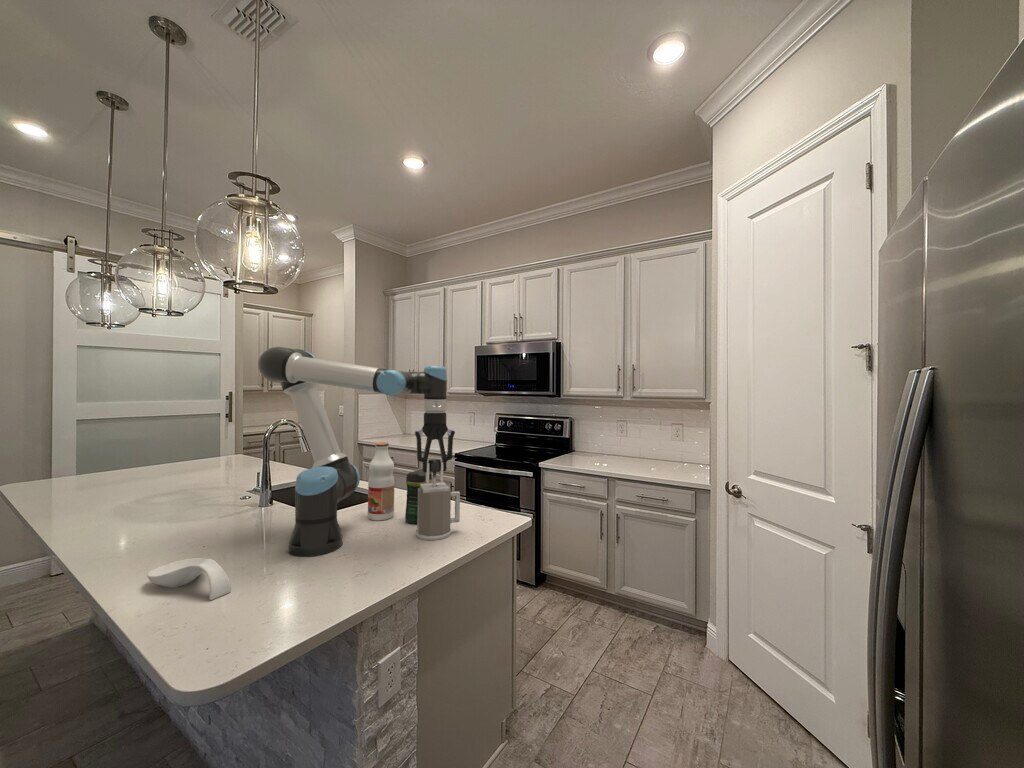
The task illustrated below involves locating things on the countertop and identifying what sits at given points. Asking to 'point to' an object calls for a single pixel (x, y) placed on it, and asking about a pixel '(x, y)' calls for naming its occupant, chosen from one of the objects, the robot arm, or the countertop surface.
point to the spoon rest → (192, 575)
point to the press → (436, 511)
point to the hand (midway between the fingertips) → (434, 481)
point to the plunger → (434, 468)
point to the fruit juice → (381, 484)
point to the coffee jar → (414, 493)
